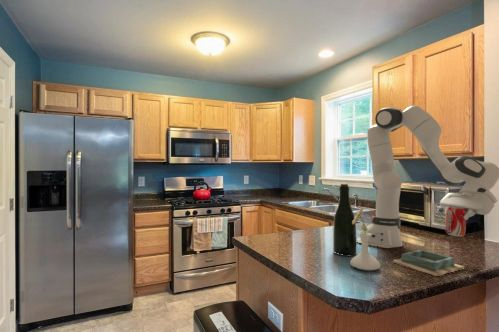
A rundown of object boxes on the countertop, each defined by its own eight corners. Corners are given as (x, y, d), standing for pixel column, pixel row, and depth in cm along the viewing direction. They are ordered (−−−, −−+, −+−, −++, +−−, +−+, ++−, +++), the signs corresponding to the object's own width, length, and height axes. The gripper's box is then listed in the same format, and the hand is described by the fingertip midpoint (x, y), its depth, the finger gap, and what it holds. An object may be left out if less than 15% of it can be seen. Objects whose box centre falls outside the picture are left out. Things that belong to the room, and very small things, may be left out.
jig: (436, 277, 105) (436, 265, 105) (393, 263, 121) (392, 253, 121) (464, 269, 113) (463, 258, 113) (419, 256, 130) (419, 247, 130)
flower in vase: (355, 261, 124) (355, 203, 124) (384, 267, 116) (383, 205, 117) (344, 269, 114) (343, 207, 114) (374, 276, 106) (373, 209, 107)
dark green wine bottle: (334, 249, 142) (333, 183, 143) (356, 251, 139) (356, 183, 139) (332, 255, 133) (331, 184, 133) (356, 257, 129) (355, 184, 129)
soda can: (440, 232, 125) (442, 205, 125) (456, 233, 126) (457, 206, 126) (453, 236, 118) (455, 207, 118) (469, 237, 119) (471, 208, 119)
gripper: (446, 187, 134) (429, 208, 132) (493, 190, 114) (474, 216, 112) (454, 196, 135) (437, 218, 133) (501, 201, 115) (483, 226, 113)
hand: (454, 217), depth 122 cm, fingers closed on soda can, 7 cm apart
